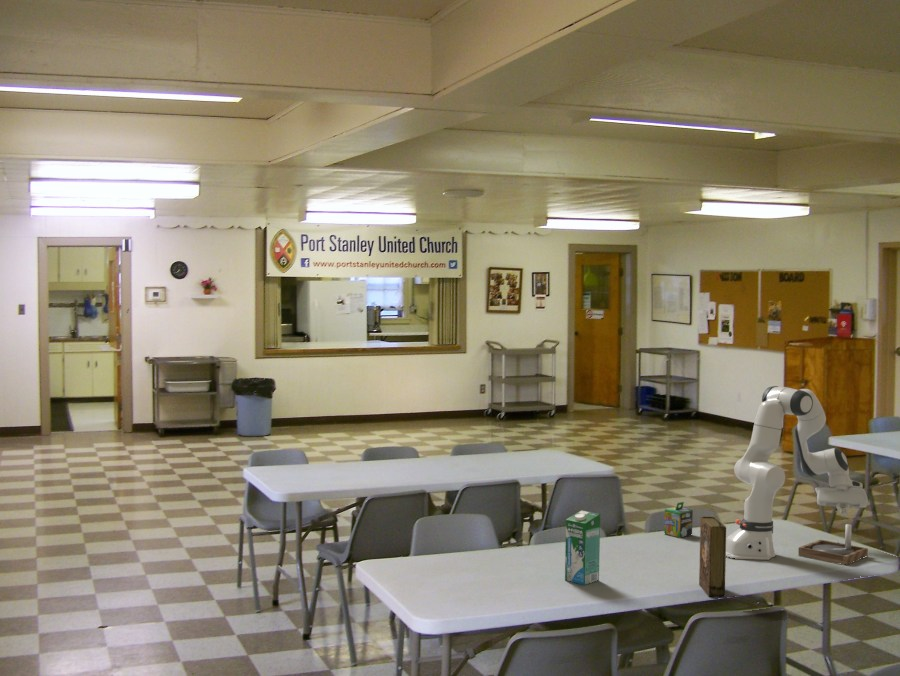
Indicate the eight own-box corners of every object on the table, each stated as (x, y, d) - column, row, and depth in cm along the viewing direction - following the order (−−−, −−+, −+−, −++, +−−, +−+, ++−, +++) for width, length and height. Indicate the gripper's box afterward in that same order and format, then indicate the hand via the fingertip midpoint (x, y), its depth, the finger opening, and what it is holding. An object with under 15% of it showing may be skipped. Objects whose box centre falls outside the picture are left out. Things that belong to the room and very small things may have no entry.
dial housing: (846, 565, 389) (846, 556, 389) (798, 555, 404) (798, 546, 404) (867, 556, 403) (867, 548, 403) (820, 547, 418) (820, 539, 417)
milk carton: (564, 580, 363) (565, 513, 362) (579, 575, 370) (580, 509, 369) (584, 585, 357) (585, 517, 356) (599, 580, 363) (600, 513, 362)
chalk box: (676, 531, 445) (676, 499, 444) (692, 535, 438) (693, 502, 437) (663, 534, 439) (663, 501, 438) (680, 538, 432) (680, 504, 431)
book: (698, 584, 361) (699, 516, 360) (713, 584, 360) (714, 516, 360) (709, 597, 344) (710, 526, 343) (724, 597, 344) (726, 526, 343)
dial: (824, 557, 394) (825, 529, 394) (805, 547, 410) (805, 521, 410) (862, 556, 397) (862, 529, 396) (841, 546, 412) (841, 520, 412)
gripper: (815, 481, 424) (818, 508, 415) (866, 483, 419) (870, 510, 410) (813, 489, 428) (816, 516, 419) (863, 491, 424) (868, 519, 415)
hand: (843, 513), depth 415 cm, fingers closed
